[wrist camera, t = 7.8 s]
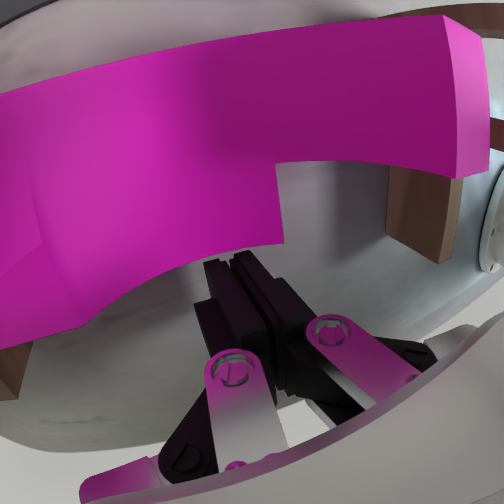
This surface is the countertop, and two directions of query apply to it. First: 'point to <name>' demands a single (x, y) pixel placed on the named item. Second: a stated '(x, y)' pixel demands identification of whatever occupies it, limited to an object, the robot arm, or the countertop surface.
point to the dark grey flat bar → (18, 8)
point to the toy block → (213, 150)
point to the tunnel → (399, 189)
